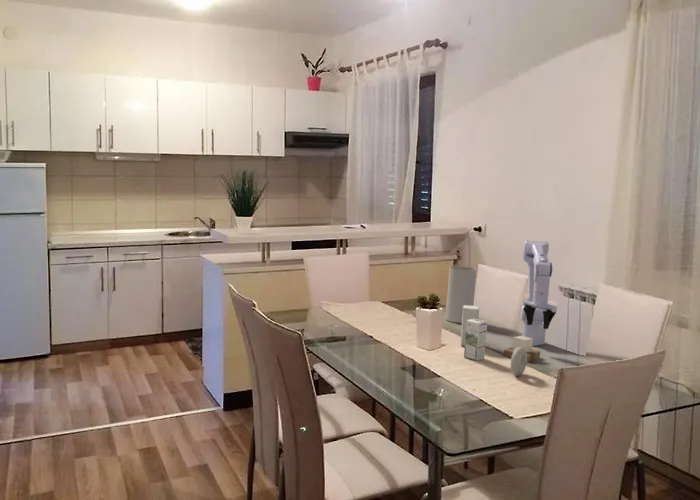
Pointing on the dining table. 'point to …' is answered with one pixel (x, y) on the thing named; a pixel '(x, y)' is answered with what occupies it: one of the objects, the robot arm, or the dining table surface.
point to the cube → (523, 343)
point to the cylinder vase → (459, 291)
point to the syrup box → (475, 339)
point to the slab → (530, 355)
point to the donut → (518, 361)
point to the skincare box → (468, 313)
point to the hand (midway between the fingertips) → (537, 326)
